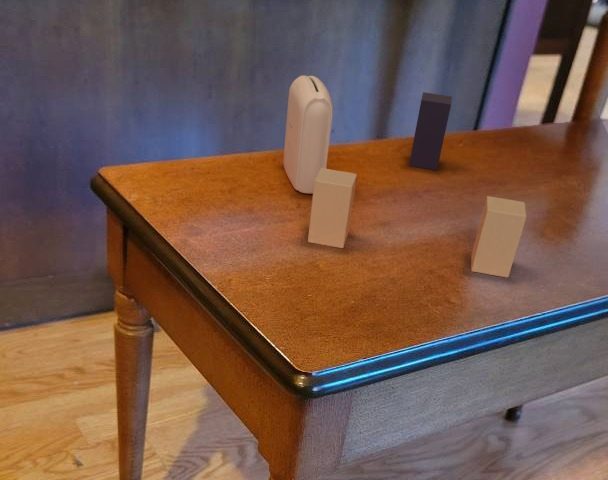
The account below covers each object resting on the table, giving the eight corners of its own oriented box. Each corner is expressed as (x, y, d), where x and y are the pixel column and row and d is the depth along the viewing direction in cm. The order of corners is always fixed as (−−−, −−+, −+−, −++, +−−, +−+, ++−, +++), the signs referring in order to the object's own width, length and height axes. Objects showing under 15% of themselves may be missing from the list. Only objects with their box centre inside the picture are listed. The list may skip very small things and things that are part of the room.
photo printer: (279, 164, 99) (287, 66, 92) (310, 165, 100) (321, 68, 93) (293, 195, 91) (303, 90, 84) (326, 196, 92) (339, 92, 85)
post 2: (507, 261, 82) (524, 201, 78) (508, 278, 79) (526, 216, 75) (471, 255, 83) (487, 195, 79) (471, 271, 80) (487, 209, 75)
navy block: (438, 161, 107) (452, 96, 101) (436, 170, 104) (451, 104, 98) (410, 156, 107) (423, 92, 102) (408, 165, 104) (421, 99, 99)
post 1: (348, 234, 84) (357, 173, 80) (343, 248, 81) (352, 186, 77) (313, 227, 84) (320, 167, 80) (307, 242, 81) (314, 180, 77)
